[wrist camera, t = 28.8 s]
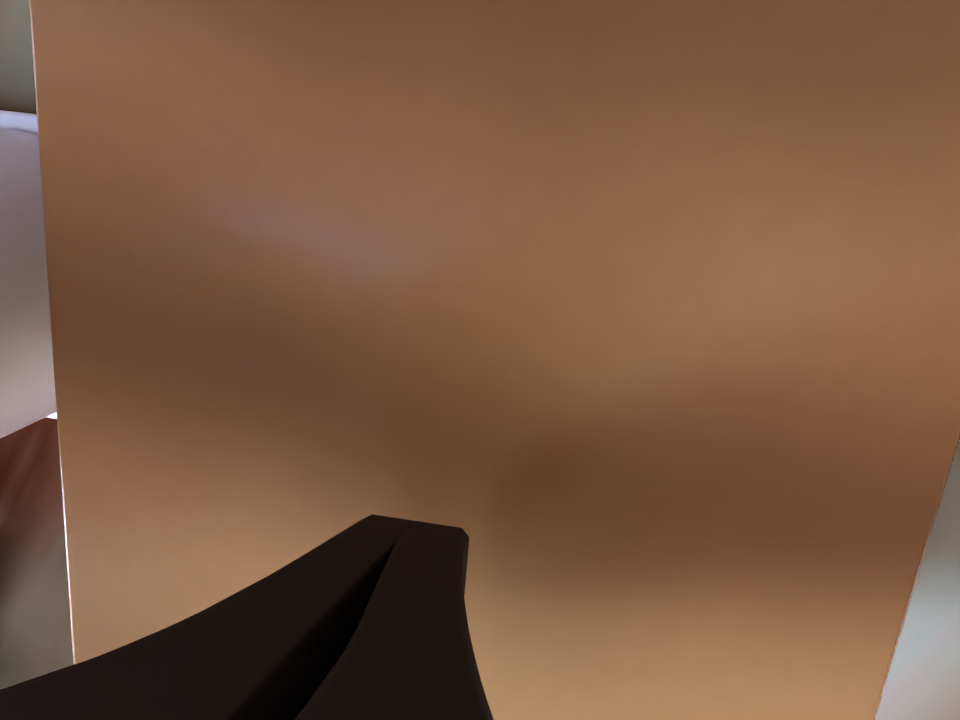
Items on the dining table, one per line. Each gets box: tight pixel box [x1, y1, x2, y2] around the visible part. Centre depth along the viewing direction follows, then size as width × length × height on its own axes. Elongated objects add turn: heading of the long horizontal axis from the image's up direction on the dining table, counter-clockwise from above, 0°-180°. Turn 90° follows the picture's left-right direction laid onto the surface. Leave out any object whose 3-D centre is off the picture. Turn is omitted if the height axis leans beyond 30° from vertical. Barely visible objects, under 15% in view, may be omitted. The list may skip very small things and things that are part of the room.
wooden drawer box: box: [29, 0, 960, 720], centre depth 14 cm, size 13×12×8 cm
